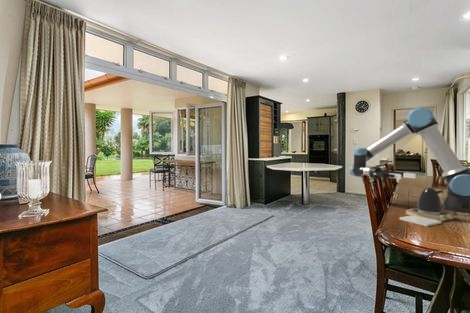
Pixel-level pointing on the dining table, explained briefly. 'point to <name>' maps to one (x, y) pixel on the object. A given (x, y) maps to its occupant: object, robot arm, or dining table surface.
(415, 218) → the ceramic tile
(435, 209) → the black tall egg-shaped piece
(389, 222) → the dining table surface
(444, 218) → the square picture frame
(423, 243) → the dining table surface
